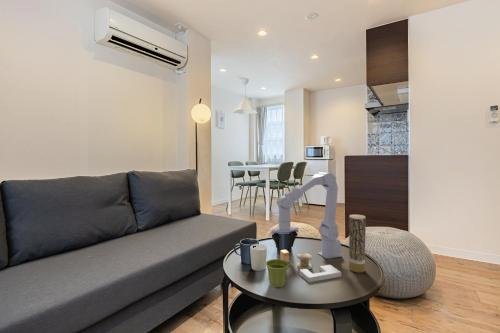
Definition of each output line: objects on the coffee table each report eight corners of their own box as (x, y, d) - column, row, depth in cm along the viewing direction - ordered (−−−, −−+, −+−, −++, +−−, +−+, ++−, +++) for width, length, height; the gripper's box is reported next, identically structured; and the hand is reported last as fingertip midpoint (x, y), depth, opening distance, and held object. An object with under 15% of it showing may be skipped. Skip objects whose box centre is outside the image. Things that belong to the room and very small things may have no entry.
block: (285, 259, 131) (285, 249, 131) (289, 262, 128) (289, 252, 127) (280, 260, 131) (280, 250, 130) (283, 263, 127) (283, 253, 127)
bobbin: (307, 262, 127) (307, 252, 127) (314, 268, 120) (314, 257, 120) (294, 264, 125) (294, 254, 124) (301, 270, 118) (301, 259, 118)
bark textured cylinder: (366, 273, 114) (367, 218, 113) (350, 272, 116) (350, 217, 115) (363, 267, 121) (363, 214, 120) (347, 266, 122) (348, 214, 121)
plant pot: (274, 276, 113) (274, 257, 112) (293, 283, 107) (293, 262, 106) (261, 285, 105) (261, 264, 105) (280, 292, 100) (280, 270, 99)
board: (329, 268, 120) (330, 264, 120) (341, 276, 112) (341, 271, 112) (299, 274, 115) (299, 269, 115) (308, 282, 107) (308, 277, 107)
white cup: (267, 264, 125) (267, 244, 125) (266, 271, 117) (266, 250, 117) (251, 264, 126) (250, 243, 126) (249, 271, 118) (249, 249, 118)
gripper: (293, 217, 134) (293, 242, 135) (268, 219, 130) (268, 246, 130) (300, 220, 128) (300, 247, 128) (273, 223, 123) (273, 250, 124)
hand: (284, 247), depth 129 cm, fingers open, 7 cm apart
